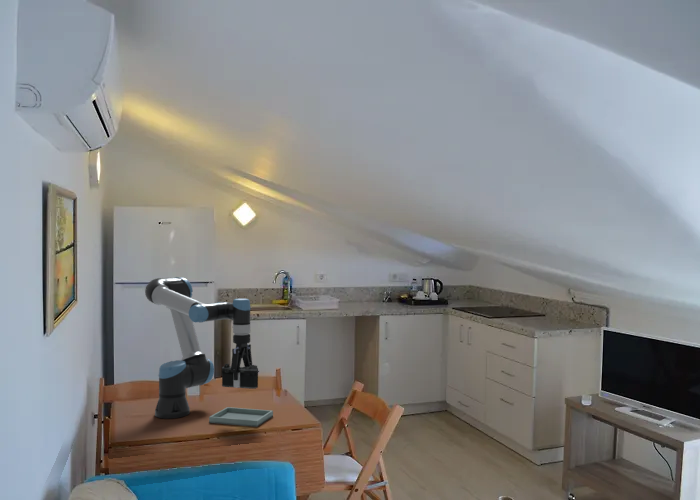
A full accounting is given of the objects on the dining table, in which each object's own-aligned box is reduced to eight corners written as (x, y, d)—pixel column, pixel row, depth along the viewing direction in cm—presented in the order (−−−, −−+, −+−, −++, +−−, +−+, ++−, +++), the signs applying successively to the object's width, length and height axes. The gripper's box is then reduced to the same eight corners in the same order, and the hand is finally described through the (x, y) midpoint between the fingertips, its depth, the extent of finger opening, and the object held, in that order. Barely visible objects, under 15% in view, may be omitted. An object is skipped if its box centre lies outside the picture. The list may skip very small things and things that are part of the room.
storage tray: (209, 422, 255) (209, 416, 255) (227, 412, 270) (227, 407, 270) (257, 426, 248) (257, 420, 248) (272, 416, 264) (272, 410, 264)
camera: (265, 384, 262) (265, 362, 262) (256, 389, 253) (256, 366, 253) (228, 382, 266) (228, 360, 266) (219, 387, 257) (219, 364, 257)
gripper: (244, 330, 271) (244, 379, 271) (222, 337, 250) (222, 390, 250) (259, 330, 269) (260, 380, 269) (238, 337, 248) (238, 391, 248)
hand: (241, 384), depth 260 cm, fingers closed on camera, 9 cm apart
